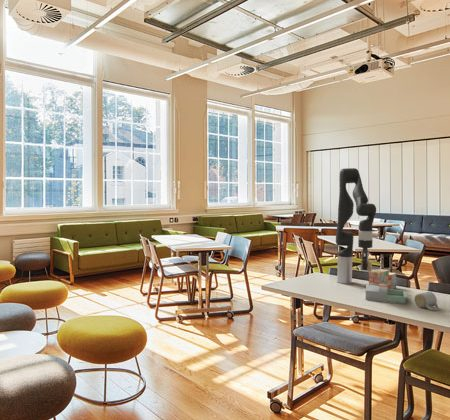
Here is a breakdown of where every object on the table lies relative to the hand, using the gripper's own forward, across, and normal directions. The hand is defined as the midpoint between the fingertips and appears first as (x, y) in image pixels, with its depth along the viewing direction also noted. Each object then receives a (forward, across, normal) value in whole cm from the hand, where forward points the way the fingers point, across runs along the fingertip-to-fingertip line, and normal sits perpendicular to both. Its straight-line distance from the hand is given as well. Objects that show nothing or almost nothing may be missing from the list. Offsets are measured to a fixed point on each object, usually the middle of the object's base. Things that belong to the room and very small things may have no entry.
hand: (364, 269), depth 226 cm
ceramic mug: (+16, +11, +31) cm, 37 cm away
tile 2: (+10, -5, +10) cm, 15 cm away
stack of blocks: (+16, -22, +10) cm, 29 cm away
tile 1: (+10, +3, +10) cm, 15 cm away
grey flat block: (+15, -1, +6) cm, 17 cm away
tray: (+15, 0, +17) cm, 23 cm away
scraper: (0, 0, 0) cm, 0 cm away
